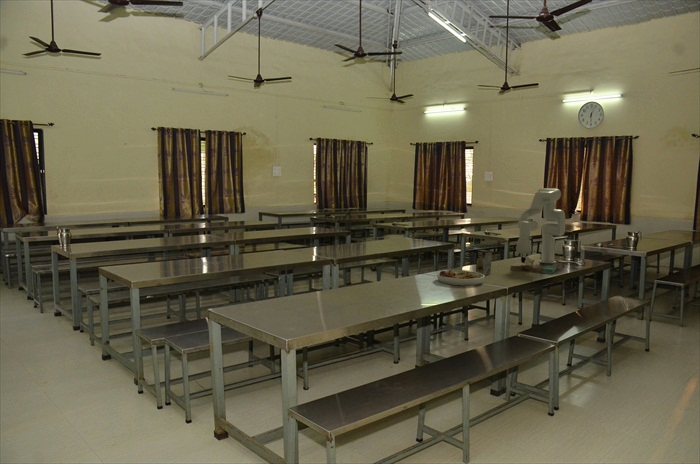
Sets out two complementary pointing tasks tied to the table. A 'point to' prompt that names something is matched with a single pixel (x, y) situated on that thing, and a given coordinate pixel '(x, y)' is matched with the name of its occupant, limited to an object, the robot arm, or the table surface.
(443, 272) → the bowl
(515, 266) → the trap board
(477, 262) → the coffee box
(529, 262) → the birch block
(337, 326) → the table surface
